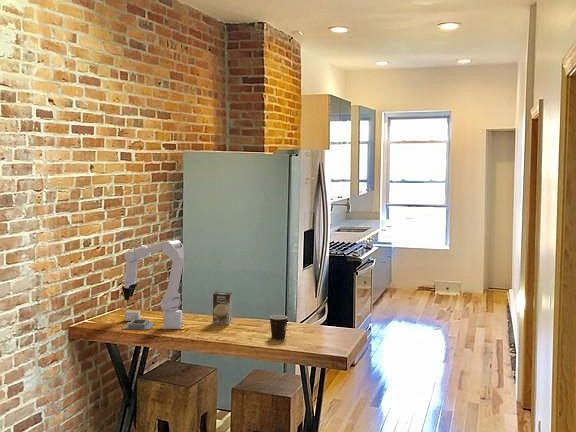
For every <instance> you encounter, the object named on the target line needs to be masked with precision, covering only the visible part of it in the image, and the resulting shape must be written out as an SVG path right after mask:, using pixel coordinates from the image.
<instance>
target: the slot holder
mask: <svg viewBox="0 0 576 432" xmlns="http://www.w3.org/2000/svg"><path fill="white" fill-rule="evenodd" d="M154 324H155V325H156V322H153V321H152V322H150V319H148V318H147V319H146V318H145V319H144V318H143V319H142V318H140V319H133V320H132V321H131V322H126V324H124V326H122V327H121V330H124V329H134V331H151V330H152V328H153V327H154V326H155V325H154Z"/></svg>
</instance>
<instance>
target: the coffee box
mask: <svg viewBox="0 0 576 432" xmlns="http://www.w3.org/2000/svg"><path fill="white" fill-rule="evenodd" d="M212 296H213V297H212V322H211V323H212V325H220V326H221V325H222V326H230V325H231V323H232V307H233V306H232V304H233V301H232V299H233V297H232V296H233V292H228V291H227V292H226V291H214V292H213V294H212Z"/></svg>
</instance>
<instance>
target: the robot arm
mask: <svg viewBox="0 0 576 432" xmlns="http://www.w3.org/2000/svg"><path fill="white" fill-rule="evenodd" d="M158 251H160V252H163V253H164V254H165V255H166V256H167V257H168V258H169V259H170V260H171V261H172V263H171V268H170V275H169V279H168V283H167V287H166V288H167V290H166V292H165V293H164V294H163V296H162V299H161V300H160V303H159V305H160V308H161V309H162V313H163V314H162V315H163V317H162V319H163V323H162V326H161V327H160V329H163V330H164V329H167V330H168V329H169V330H173V329H174V330H181V328H182V327H183V310H181V309H179V307H180V306H181V304H182V300H181V294H180V293H179V287H180V283H181V277H182V272H183V267H184V264H185V263H184V261H185V256H184V245H183V243H182V242H181V241H180V239H174V240H169V241H167V240H166V241H161V242H158V243H157V242H156V243H155V244H152V245H151V246H148V245H144V244H143V245H140V247H138V248H137V247H135V248H133V249H132V250H127V251H126V252H125V253H124V259H125V261H126V263H125V270H124V271H125V273H124V274H125V275H124V279H122V281H121V282H122V283H124V285H123V286H121V290H122V292H123V297H124V298H123V300H124V301H130V298H133V296H134V294H135V293H134V292H135V289H136V287H137V286H138V282H137V272H138V264H139V261H140V260H141V259H145V258H148V257H149V256H150V255H151V253H152V254H153V253H155V252H158Z"/></svg>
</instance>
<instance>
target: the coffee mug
mask: <svg viewBox="0 0 576 432" xmlns="http://www.w3.org/2000/svg"><path fill="white" fill-rule="evenodd" d="M269 322H270V323H269V324H270V330H271V331H270V332H271V333H270V335H271V339H273V340H284V339H285V338H286V335H287V334H286V333H287V325H288V316H286V315H283V314H282V315H281V314H280V315H279V314H278V315H276V314H275V315H271V316H269Z"/></svg>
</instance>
